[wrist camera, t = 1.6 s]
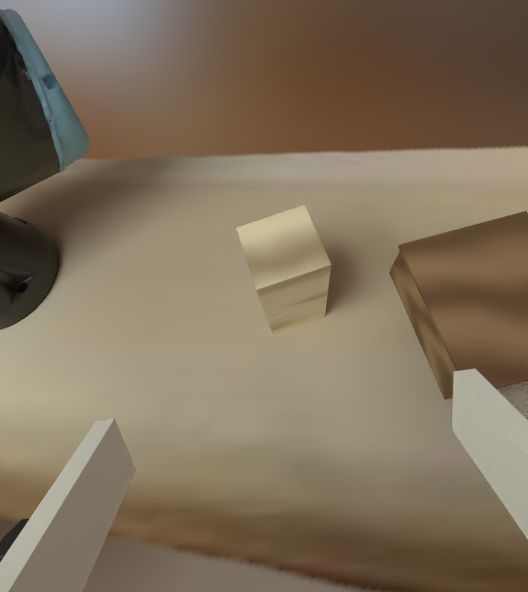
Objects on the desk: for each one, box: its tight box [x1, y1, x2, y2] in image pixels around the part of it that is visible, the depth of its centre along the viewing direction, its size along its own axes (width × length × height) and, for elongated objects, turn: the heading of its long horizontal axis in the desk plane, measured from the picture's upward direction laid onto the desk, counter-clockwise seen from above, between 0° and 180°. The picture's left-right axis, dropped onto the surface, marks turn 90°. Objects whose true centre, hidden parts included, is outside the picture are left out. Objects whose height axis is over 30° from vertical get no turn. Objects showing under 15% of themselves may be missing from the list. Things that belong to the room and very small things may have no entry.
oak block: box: [236, 205, 331, 333], centre depth 32 cm, size 6×6×12 cm
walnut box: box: [389, 211, 528, 399], centre depth 32 cm, size 14×12×6 cm
